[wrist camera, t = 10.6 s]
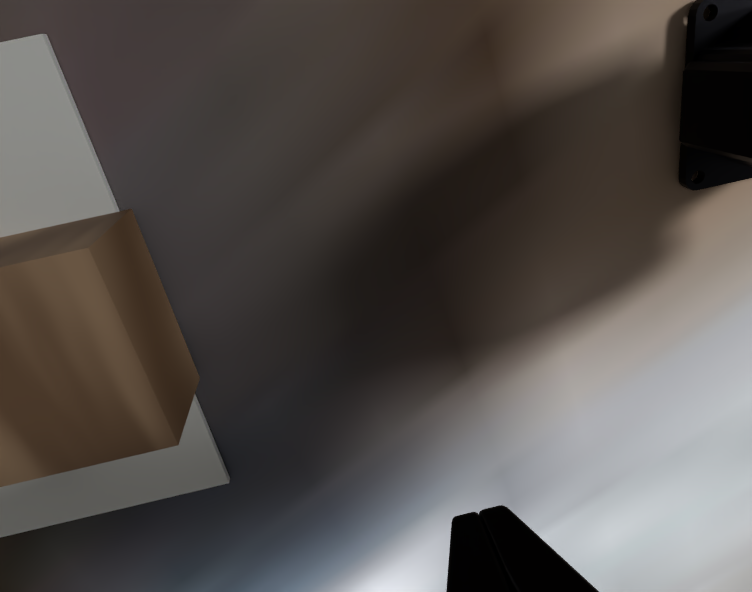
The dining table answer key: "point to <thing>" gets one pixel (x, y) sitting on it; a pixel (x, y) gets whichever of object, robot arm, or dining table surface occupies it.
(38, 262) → the walnut block
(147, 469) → the mat
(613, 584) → the dining table surface
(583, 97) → the dining table surface
